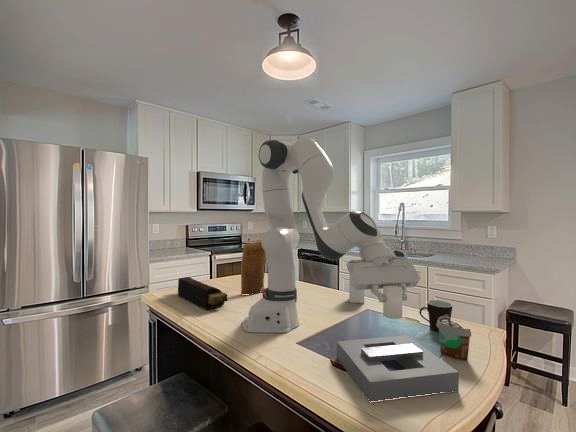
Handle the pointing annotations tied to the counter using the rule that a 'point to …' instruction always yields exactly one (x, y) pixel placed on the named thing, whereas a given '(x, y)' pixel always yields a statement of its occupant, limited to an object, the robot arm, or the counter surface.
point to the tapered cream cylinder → (392, 301)
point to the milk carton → (355, 294)
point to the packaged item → (200, 293)
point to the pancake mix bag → (252, 268)
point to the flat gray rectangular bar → (391, 352)
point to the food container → (453, 339)
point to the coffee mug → (437, 312)
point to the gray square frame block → (393, 384)
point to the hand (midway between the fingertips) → (393, 300)
